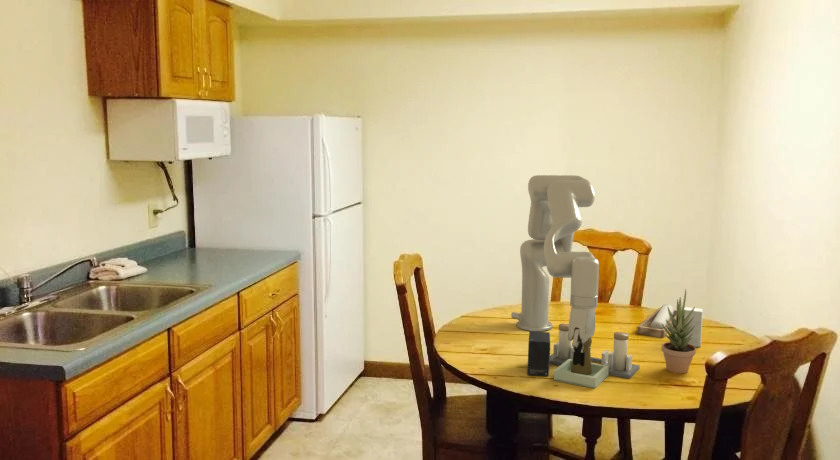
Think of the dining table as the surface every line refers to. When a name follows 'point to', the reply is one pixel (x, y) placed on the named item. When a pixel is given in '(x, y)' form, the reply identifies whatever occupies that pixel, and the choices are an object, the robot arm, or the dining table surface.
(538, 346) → the small box
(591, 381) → the tray
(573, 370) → the olive waisted cylinder
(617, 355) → the fuse block
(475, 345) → the dining table surface
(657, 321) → the tube
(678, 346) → the potted plant
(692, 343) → the skincare box
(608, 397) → the dining table surface
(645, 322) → the tube rest
